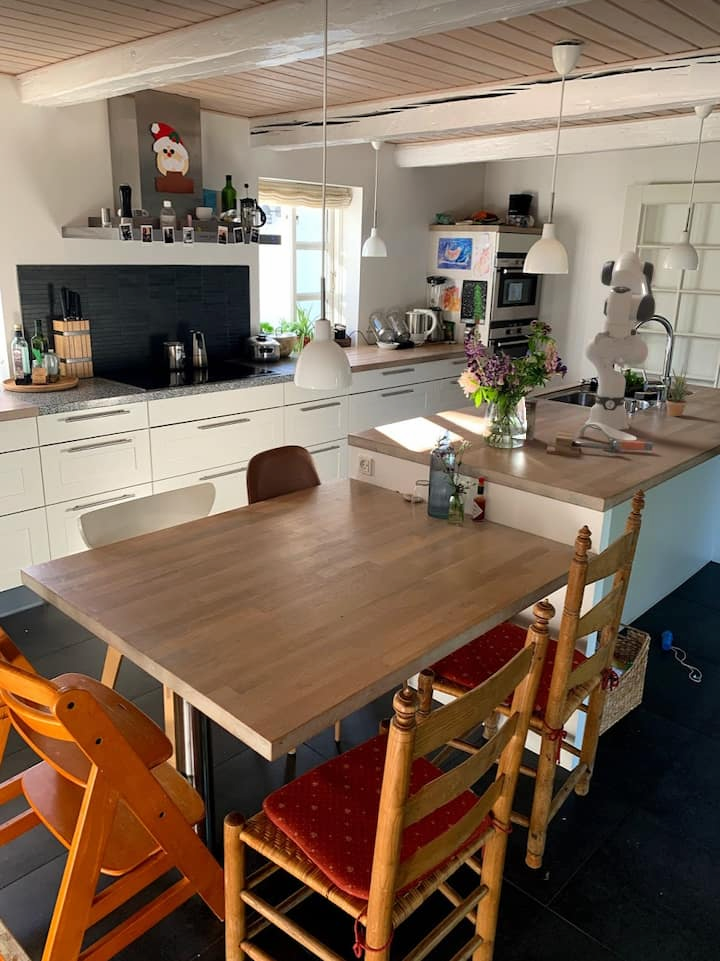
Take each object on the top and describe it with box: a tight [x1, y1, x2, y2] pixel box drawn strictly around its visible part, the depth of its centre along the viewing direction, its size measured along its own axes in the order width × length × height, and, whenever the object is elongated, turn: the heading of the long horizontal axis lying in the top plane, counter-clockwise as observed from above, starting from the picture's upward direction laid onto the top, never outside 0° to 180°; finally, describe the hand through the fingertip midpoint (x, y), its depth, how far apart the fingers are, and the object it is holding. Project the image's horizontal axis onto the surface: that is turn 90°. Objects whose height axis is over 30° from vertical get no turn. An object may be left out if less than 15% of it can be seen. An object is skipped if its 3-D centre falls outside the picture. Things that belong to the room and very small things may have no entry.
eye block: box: [546, 430, 581, 457], centre depth 294 cm, size 14×12×6 cm
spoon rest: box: [576, 422, 638, 443], centre depth 309 cm, size 24×12×7 cm, turn 51°
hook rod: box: [572, 440, 622, 454], centre depth 291 cm, size 3×24×4 cm, turn 74°
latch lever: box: [616, 440, 654, 452], centre depth 295 cm, size 14×2×3 cm, turn 80°
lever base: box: [602, 439, 615, 453], centre depth 296 cm, size 6×6×4 cm
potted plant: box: [665, 365, 689, 417], centre depth 360 cm, size 10×10×25 cm
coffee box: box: [524, 398, 538, 442], centre depth 310 cm, size 9×6×16 cm
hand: (611, 367), depth 292 cm, fingers open, 8 cm apart
